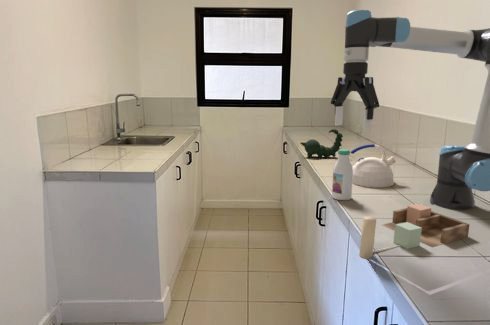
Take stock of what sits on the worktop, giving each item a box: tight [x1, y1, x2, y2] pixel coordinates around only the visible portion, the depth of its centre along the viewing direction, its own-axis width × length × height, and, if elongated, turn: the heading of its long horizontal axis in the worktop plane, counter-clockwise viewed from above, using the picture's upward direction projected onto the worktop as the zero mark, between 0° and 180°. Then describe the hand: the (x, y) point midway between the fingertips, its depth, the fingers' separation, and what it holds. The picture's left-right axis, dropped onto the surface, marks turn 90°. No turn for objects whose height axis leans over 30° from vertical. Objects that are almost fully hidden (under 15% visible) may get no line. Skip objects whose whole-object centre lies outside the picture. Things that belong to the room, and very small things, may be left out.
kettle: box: [350, 144, 397, 189], centre depth 177 cm, size 20×21×18 cm
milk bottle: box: [331, 148, 353, 201], centre depth 152 cm, size 8×8×20 cm
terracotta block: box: [406, 203, 432, 225], centre depth 124 cm, size 5×5×6 cm
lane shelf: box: [382, 207, 471, 248], centre depth 119 cm, size 16×19×5 cm
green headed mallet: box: [358, 215, 422, 260], centre depth 106 cm, size 20×5×11 cm, turn 116°
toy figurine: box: [300, 128, 344, 159], centre depth 232 cm, size 9×19×25 cm
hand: (352, 127), depth 126 cm, fingers open, 13 cm apart
